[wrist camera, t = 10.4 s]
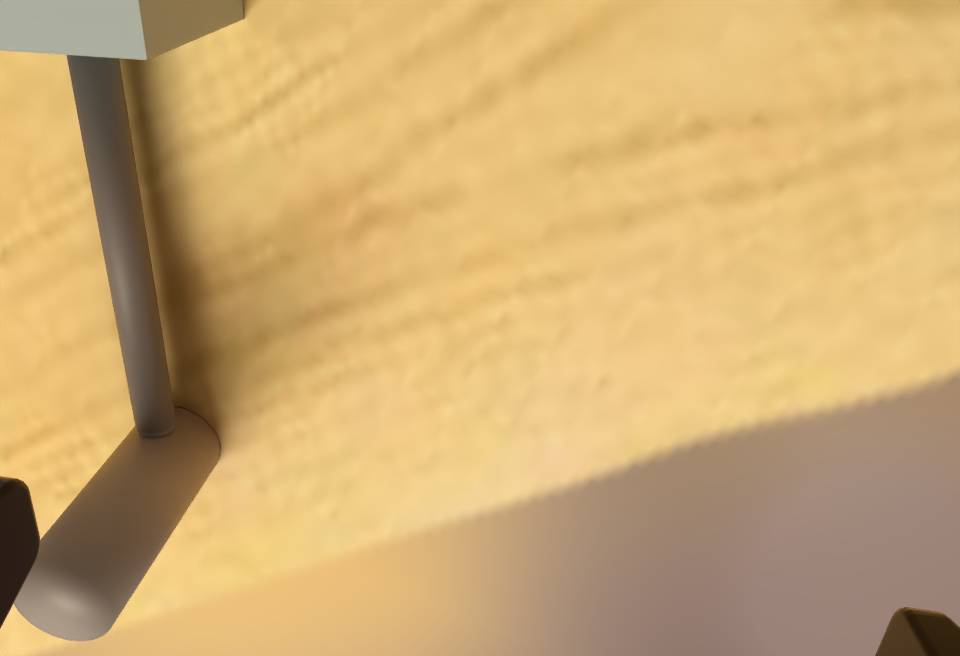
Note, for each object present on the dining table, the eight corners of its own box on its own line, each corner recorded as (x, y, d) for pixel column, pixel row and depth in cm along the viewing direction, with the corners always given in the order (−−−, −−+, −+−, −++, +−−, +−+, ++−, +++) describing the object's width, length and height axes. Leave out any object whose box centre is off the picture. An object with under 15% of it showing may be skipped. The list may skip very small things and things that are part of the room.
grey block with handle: (206, -401, 15) (-4, -545, 10) (285, 487, 24) (199, 657, 19) (-112, -406, 16) (-474, -546, 10) (85, 465, 25) (-53, 624, 20)
